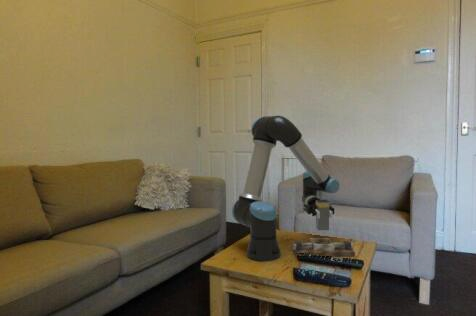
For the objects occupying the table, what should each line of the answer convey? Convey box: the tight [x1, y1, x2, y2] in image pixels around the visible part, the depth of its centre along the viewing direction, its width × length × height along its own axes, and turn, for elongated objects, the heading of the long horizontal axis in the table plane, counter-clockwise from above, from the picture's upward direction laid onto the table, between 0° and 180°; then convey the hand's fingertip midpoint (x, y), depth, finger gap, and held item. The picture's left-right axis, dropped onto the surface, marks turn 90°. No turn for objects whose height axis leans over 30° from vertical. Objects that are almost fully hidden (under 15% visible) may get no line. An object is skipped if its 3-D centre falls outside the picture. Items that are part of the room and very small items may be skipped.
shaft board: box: [291, 237, 356, 258], centre depth 155 cm, size 27×12×5 cm, turn 89°
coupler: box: [315, 199, 330, 231], centre depth 154 cm, size 5×5×13 cm
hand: (325, 215), depth 149 cm, fingers closed on coupler, 5 cm apart
